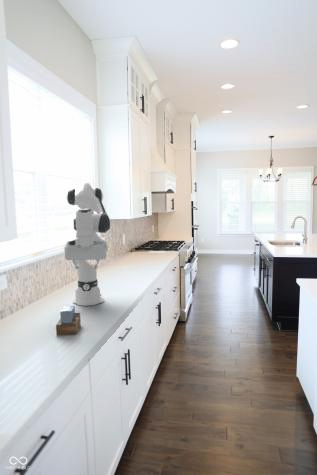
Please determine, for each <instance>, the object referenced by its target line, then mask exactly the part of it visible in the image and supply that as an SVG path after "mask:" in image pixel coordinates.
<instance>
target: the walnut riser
mask: <svg viewBox="0 0 317 475" xmlns="http://www.w3.org/2000/svg"><path fill="white" fill-rule="evenodd" d="M81 324H82V323H81V311H75V319H74V321H73V322H72V324H61V317H60V319H59V320H58V321H57V323H56V325H55V330H56V332H55V333H56V336H75V335H77V333H78V332H79V330H80V328H81Z"/></svg>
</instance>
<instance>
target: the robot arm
mask: <svg viewBox="0 0 317 475" xmlns="http://www.w3.org/2000/svg"><path fill="white" fill-rule="evenodd" d="M65 198H66V201H67V203H68V204H69V205H71V206H78V207H77V210H76V213H75V217H74V218H73V220H72V221H73V229H74V230H75V231H76V234H75V238H72V239H69V240H68V241H66V244H65V246H64V248H63V250H64V259H65V260H66V261H72V264H73V265H74V269H75V270H77V275H78V276H77V278H78V279H77V287H76V289H75V300H73V301H72V304H75V305H78V306H83V307H84V306H86V307H87V306H94V305H98V304H101V303H104V302H105V300H104V297H103V295H102V294H101V289H100V287H99V281H98V276H97V269H98V268H99V266H98V264H99V263H100V261H101V260H105V259H107V253H108V250H109V246H108V242H106V241H105V240H104V239H102V238H101V237H100V236H99V235H98V233H101V234H105V233H107V232H108V231H109V230H110V229H111V219H110V217H109V215H108V213H107V210H106V209H105V207H104V204H103V202H102V201H103V199H104V195H103V191H102V189H101V188H98V187H93V186H92V184H91V183H90V182H88V181H81V182H79V183H78V184H77V185H76V187H70V188H69V189H68V190H67V191H66V197H65ZM91 260H93V261H95V260H96V263H95V264H93V263H91V262H89V261H91Z"/></svg>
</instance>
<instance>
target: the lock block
mask: <svg viewBox="0 0 317 475" xmlns="http://www.w3.org/2000/svg"><path fill="white" fill-rule="evenodd" d="M75 308H76V306H75V305H64V306H63V307H62V308H61V310H60V312H59V313H60V314H59V315H60V318H61V324H72V322H73V321H74V319H75V312H76V310H75Z"/></svg>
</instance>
